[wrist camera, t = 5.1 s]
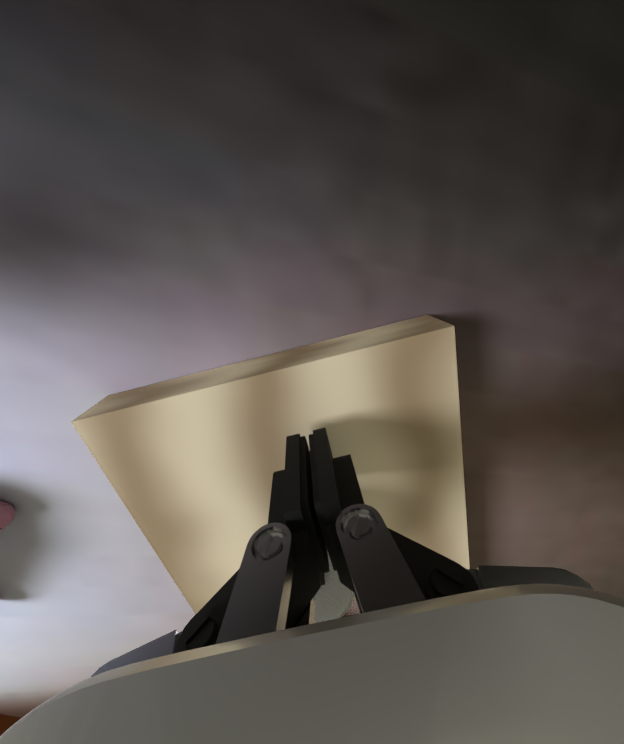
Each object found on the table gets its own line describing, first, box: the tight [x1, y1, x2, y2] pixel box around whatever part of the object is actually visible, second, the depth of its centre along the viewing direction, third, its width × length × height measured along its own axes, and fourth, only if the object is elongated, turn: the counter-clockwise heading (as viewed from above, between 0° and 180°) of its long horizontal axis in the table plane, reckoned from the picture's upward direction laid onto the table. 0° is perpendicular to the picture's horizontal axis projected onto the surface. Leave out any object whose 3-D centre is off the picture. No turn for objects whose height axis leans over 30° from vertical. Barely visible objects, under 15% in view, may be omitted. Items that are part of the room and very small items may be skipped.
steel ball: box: [314, 550, 355, 623], centre depth 12 cm, size 4×4×4 cm
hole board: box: [71, 315, 470, 614], centre depth 17 cm, size 16×24×2 cm, turn 14°
